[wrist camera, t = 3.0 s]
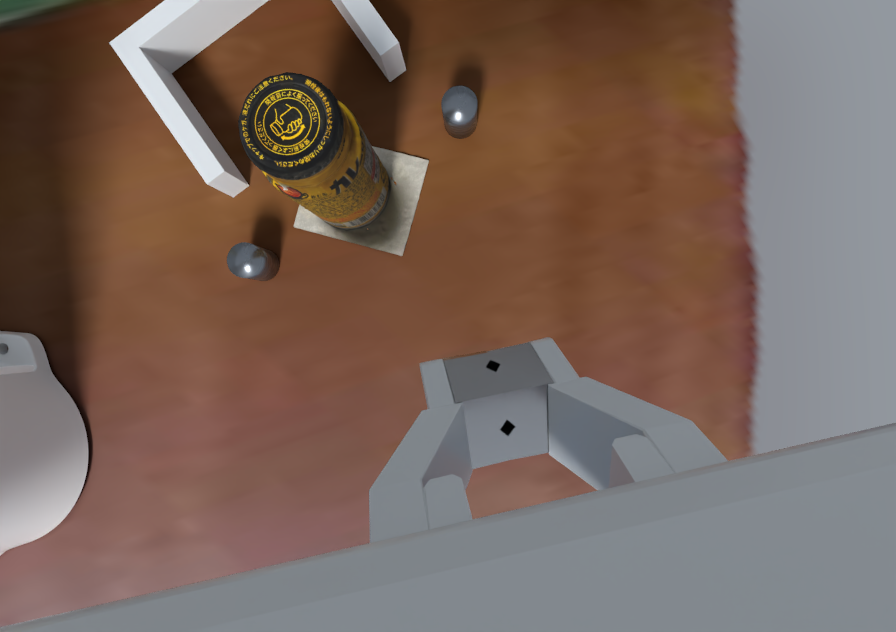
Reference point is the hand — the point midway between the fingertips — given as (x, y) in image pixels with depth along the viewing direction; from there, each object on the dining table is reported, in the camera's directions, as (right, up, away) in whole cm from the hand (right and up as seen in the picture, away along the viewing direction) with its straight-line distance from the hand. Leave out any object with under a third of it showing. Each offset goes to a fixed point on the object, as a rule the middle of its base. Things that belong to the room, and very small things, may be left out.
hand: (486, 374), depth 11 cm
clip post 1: (-15, +5, +25) cm, 29 cm away
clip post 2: (0, +16, +24) cm, 28 cm away
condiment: (-7, +10, +24) cm, 27 cm away
